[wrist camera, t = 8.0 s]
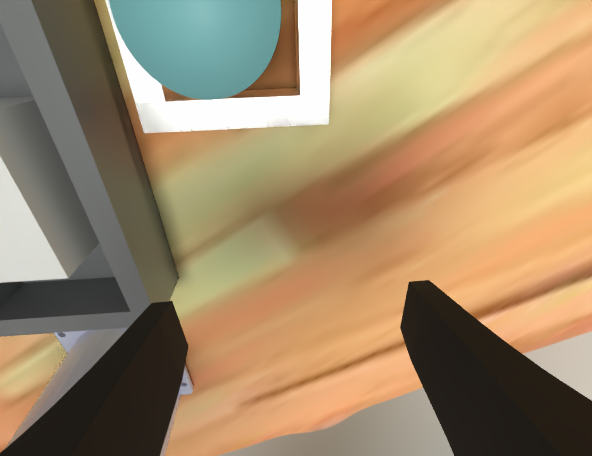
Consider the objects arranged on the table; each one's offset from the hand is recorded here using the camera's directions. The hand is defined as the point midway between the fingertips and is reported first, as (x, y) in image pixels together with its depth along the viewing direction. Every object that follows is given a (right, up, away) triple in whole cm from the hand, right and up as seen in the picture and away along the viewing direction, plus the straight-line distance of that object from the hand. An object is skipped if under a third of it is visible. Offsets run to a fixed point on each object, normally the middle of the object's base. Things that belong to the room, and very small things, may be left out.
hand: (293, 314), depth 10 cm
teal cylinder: (-3, +12, +4) cm, 12 cm away
